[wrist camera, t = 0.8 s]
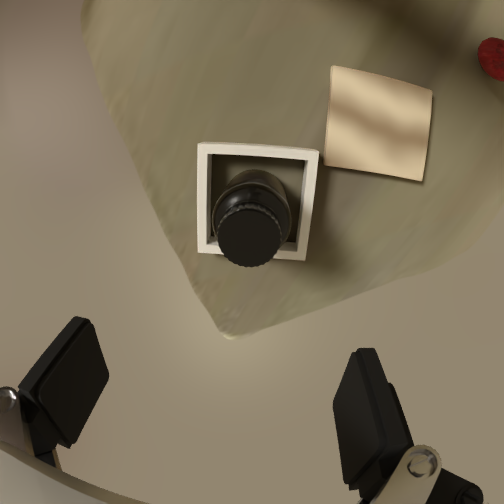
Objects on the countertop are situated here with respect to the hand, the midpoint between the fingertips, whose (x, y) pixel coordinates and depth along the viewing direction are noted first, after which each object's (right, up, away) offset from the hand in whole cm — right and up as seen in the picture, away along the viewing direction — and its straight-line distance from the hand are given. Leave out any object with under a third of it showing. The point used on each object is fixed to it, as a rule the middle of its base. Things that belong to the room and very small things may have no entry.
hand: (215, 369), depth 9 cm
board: (+15, +18, +18) cm, 30 cm away
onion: (+31, +29, +12) cm, 44 cm away
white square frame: (+2, +10, +23) cm, 25 cm away
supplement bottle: (+2, +10, +23) cm, 25 cm away
